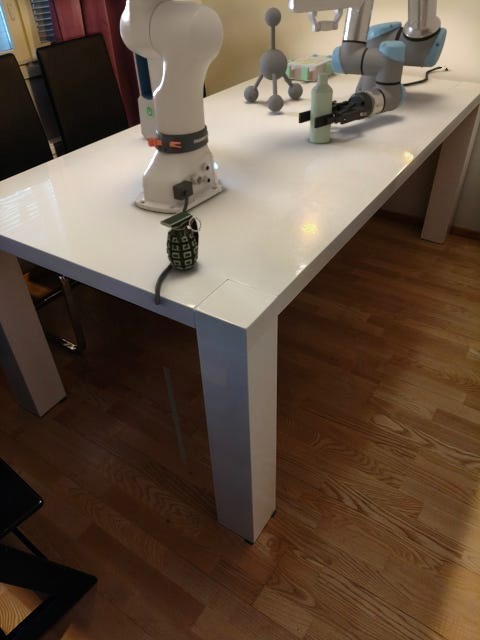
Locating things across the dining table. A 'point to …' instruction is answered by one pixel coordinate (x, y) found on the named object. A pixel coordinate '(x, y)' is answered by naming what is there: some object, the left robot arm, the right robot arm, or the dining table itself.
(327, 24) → the cap
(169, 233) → the grenade
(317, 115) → the bottle
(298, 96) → the molecular model
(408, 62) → the right robot arm
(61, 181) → the dining table surface
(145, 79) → the electronic device
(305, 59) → the decorative block
